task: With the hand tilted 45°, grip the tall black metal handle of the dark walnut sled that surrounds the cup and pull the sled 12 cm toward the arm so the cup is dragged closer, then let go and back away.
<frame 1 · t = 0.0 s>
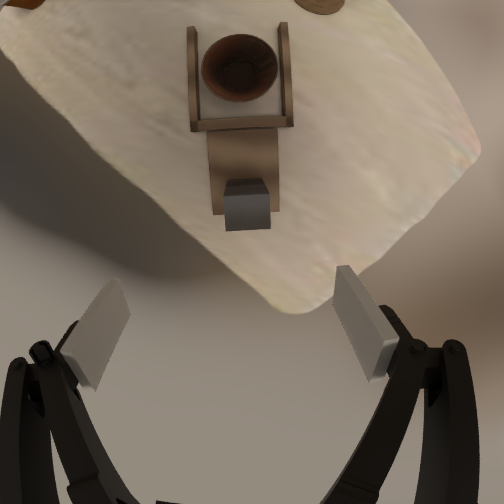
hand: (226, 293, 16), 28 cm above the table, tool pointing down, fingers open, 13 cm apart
walnut sled: (241, 112, 31), point 6 cm above the table, slide at 0.0 cm
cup: (239, 81, 34), on the table
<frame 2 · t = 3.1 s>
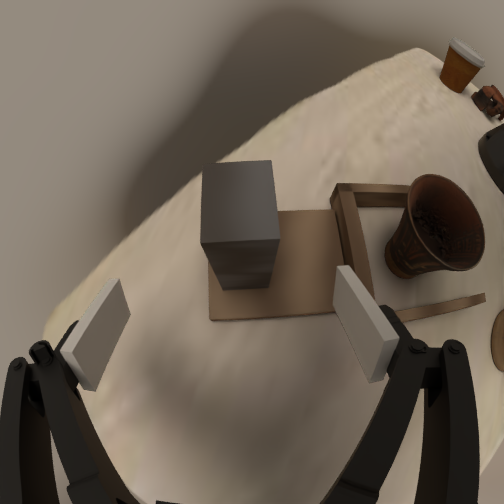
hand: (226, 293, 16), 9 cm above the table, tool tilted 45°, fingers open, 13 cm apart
disposable coffee cup: (450, 85, 41), on the table
walnut sled: (383, 234, 21), point 6 cm above the table, slide at 0.0 cm
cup: (402, 257, 27), on the table
dark brown arched piece: (486, 111, 39), on the table
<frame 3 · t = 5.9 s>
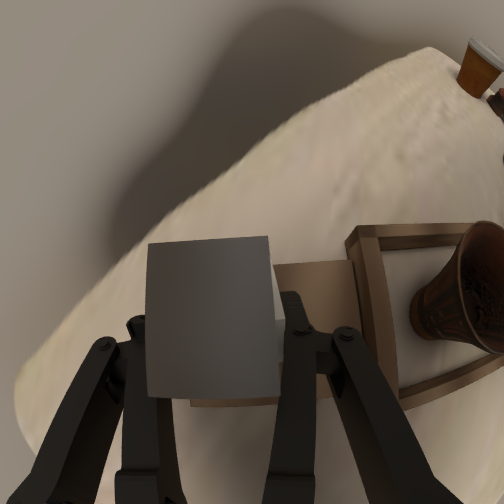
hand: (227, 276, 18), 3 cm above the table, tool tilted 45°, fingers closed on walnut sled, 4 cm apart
disposable coffee cup: (467, 89, 35), on the table
walnut sled: (419, 308, 14), point 6 cm above the table, slide at 0.0 cm, touching gripper
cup: (428, 312, 20), on the table
dark brown arched piece: (502, 116, 33), on the table
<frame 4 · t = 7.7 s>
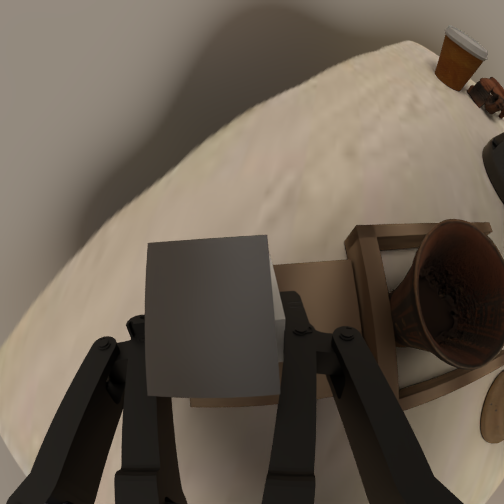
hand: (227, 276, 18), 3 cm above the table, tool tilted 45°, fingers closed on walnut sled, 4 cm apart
disposable coffee cup: (447, 81, 35), on the table
candle holder: (501, 405, 16), on the table
walnut sled: (419, 307, 14), point 6 cm above the table, slide at 6.3 cm, touching gripper
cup: (400, 317, 20), on the table
dark brown arched piece: (485, 108, 33), on the table
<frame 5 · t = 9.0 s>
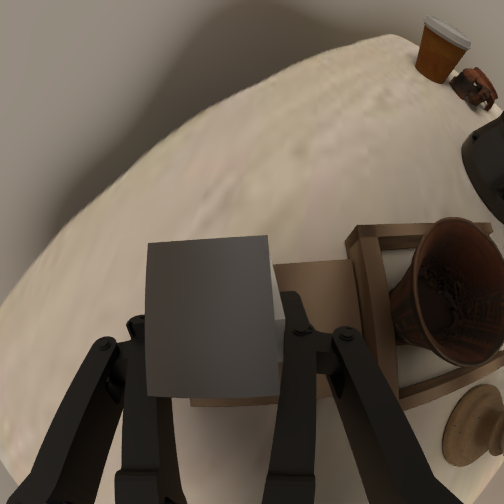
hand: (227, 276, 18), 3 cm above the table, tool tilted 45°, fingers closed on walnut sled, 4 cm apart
disposable coffee cup: (429, 74, 35), on the table
candle holder: (471, 425, 16), on the table
walnut sled: (419, 308, 14), point 6 cm above the table, slide at 11.8 cm, touching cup, gripper
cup: (399, 315, 20), on the table, touching walnut sled
dark brown arched piece: (469, 100, 33), on the table
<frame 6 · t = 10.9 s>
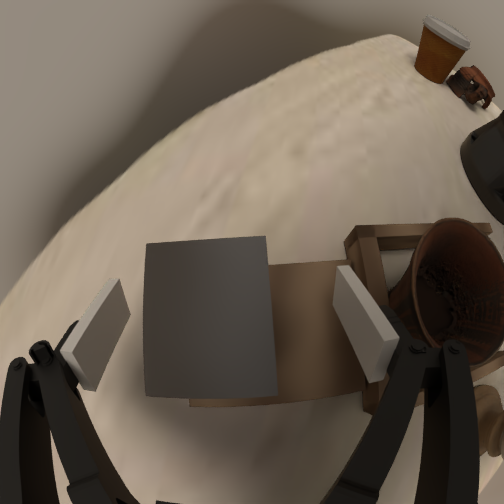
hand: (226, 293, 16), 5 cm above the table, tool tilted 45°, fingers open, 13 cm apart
disposable coffee cup: (428, 74, 35), on the table
candle holder: (469, 426, 16), on the table
walnut sled: (418, 308, 14), point 6 cm above the table, slide at 11.9 cm
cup: (398, 316, 20), on the table
dark brown arched piece: (466, 98, 33), on the table
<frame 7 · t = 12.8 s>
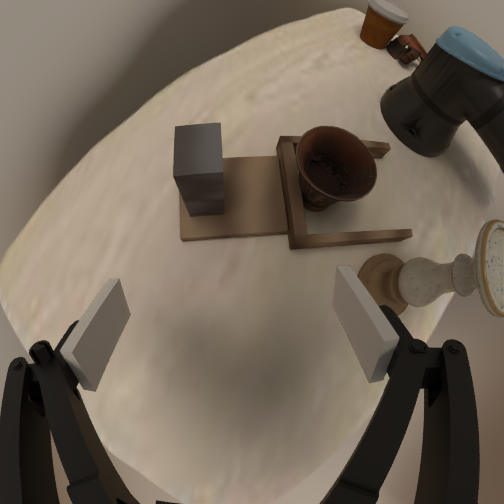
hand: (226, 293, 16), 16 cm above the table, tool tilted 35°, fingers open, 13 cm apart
disposable coffee cup: (371, 41, 44), on the table
candle holder: (383, 287, 34), on the table
walnut sled: (310, 173, 28), point 6 cm above the table, slide at 11.9 cm
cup: (313, 193, 35), on the table
dark brown arched piece: (403, 59, 44), on the table
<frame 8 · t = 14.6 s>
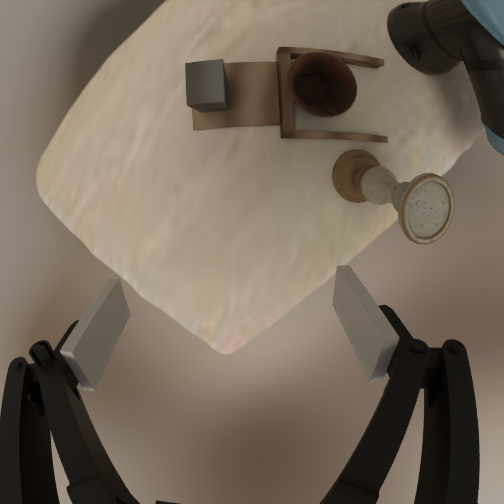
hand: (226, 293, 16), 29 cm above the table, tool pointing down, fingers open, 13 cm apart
candle holder: (356, 175, 42), on the table
walnut sled: (299, 87, 30), point 6 cm above the table, slide at 11.9 cm
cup: (305, 93, 36), on the table
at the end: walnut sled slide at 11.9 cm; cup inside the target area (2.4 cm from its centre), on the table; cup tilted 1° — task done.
